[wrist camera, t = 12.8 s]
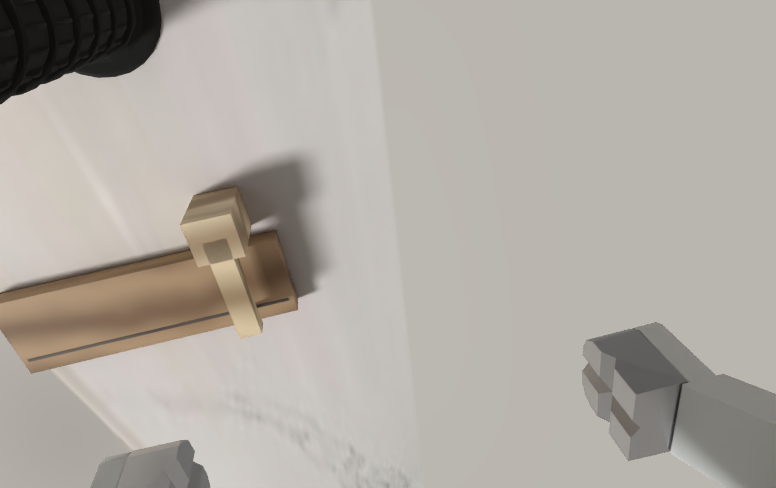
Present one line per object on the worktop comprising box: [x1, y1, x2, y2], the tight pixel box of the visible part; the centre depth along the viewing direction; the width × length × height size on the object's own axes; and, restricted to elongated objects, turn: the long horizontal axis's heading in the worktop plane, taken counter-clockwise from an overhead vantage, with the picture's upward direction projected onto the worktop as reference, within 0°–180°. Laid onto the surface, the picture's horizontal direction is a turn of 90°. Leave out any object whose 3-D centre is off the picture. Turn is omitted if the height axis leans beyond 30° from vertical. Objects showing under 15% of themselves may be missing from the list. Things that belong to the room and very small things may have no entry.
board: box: [0, 231, 298, 373], centre depth 48 cm, size 8×26×2 cm, turn 100°
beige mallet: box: [180, 186, 263, 339], centre depth 46 cm, size 12×4×6 cm, turn 10°
